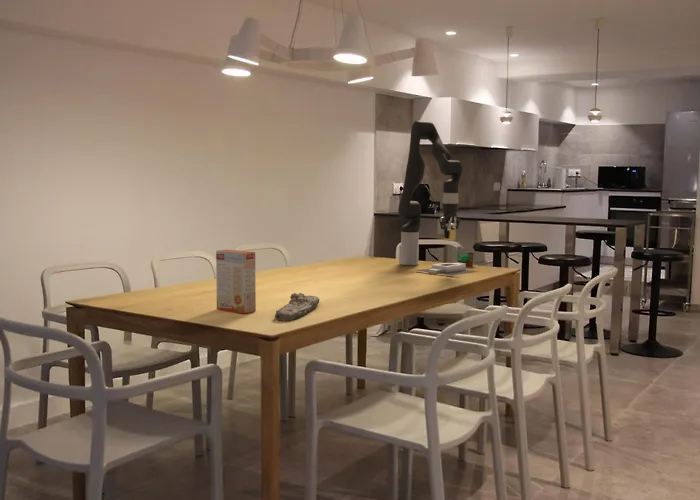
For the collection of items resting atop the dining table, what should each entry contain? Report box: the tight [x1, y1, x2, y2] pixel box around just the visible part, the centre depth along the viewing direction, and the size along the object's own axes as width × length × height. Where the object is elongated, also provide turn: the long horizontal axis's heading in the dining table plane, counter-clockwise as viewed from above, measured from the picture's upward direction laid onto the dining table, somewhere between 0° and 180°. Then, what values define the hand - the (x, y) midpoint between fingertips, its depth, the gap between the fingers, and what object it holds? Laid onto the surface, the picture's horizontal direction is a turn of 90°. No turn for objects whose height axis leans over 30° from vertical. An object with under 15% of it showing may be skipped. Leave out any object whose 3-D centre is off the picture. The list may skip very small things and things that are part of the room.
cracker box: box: [215, 249, 257, 315], centre depth 250 cm, size 14×6×21 cm, turn 51°
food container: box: [455, 245, 475, 267], centre depth 373 cm, size 12×6×10 cm, turn 25°
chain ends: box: [427, 262, 467, 275], centre depth 350 cm, size 9×22×3 cm, turn 133°
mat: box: [415, 267, 479, 278], centre depth 350 cm, size 22×20×1 cm
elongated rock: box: [274, 292, 320, 322], centre depth 250 cm, size 35×5×10 cm
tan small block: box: [443, 228, 457, 242], centre depth 348 cm, size 4×4×5 cm
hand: (449, 238), depth 348 cm, fingers closed on tan small block, 4 cm apart
